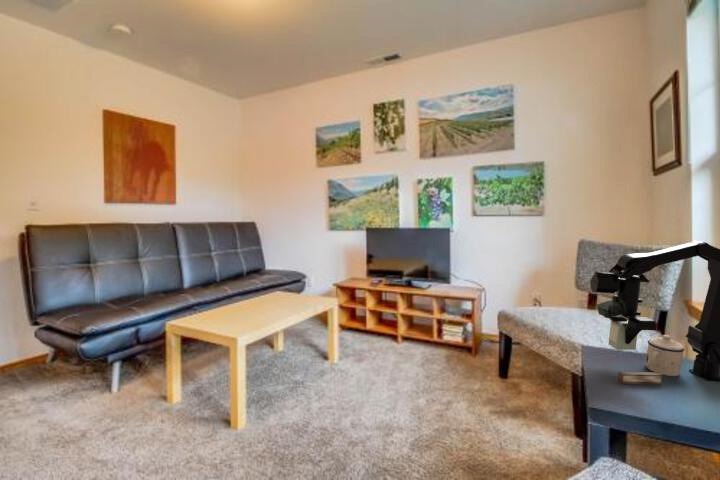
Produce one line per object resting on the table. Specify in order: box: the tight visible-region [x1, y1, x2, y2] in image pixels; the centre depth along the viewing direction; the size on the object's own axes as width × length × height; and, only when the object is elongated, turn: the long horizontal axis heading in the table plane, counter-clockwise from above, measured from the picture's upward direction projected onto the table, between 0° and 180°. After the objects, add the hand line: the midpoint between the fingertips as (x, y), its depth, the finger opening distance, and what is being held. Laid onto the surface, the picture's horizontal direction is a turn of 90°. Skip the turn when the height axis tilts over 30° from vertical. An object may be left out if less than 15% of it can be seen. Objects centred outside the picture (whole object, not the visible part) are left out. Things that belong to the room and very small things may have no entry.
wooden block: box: [617, 371, 663, 385], centre depth 110 cm, size 12×2×3 cm, turn 90°
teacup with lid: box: [645, 334, 685, 377], centre depth 117 cm, size 12×9×12 cm
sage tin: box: [608, 320, 638, 351], centre depth 118 cm, size 4×6×8 cm, turn 90°
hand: (622, 340), depth 119 cm, fingers closed on sage tin, 4 cm apart
